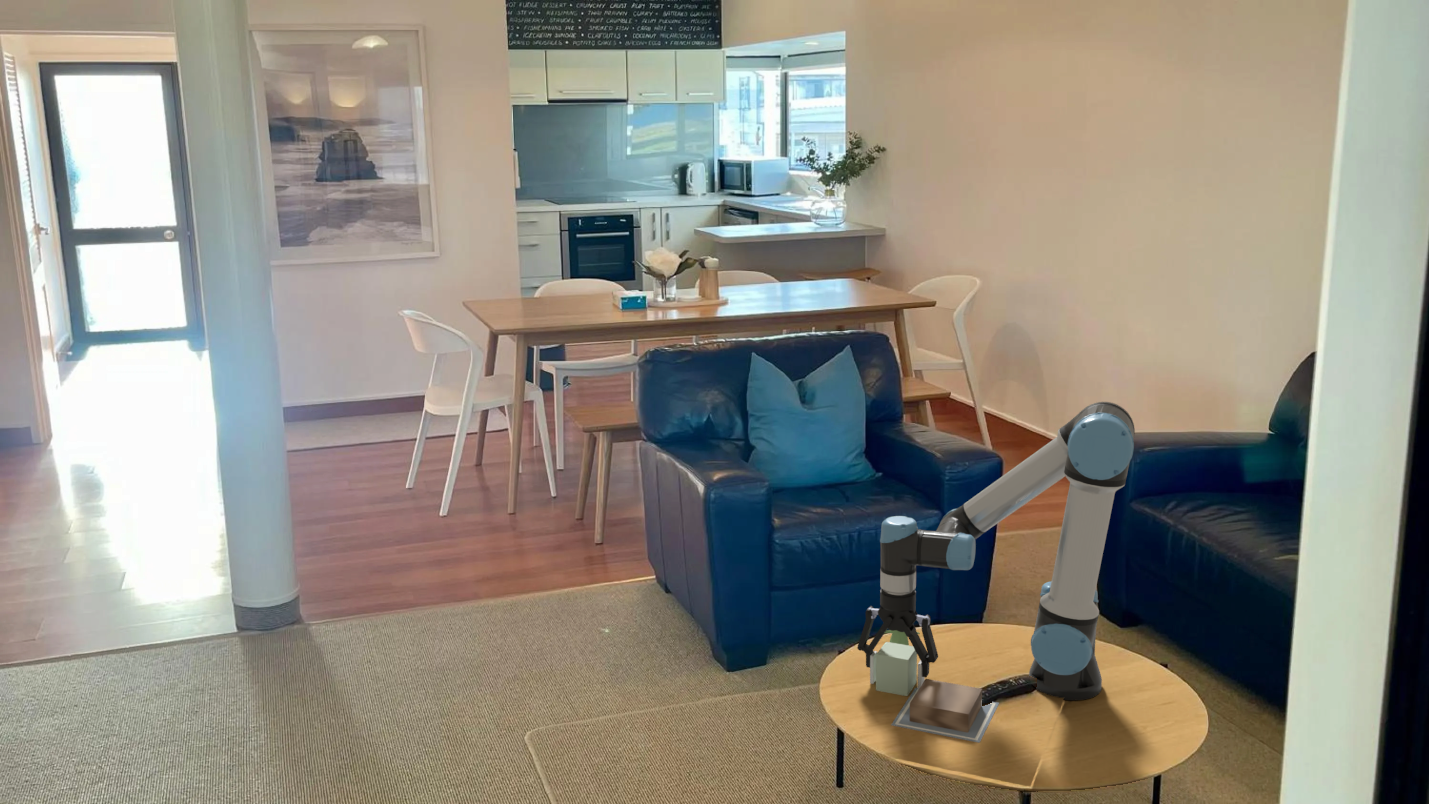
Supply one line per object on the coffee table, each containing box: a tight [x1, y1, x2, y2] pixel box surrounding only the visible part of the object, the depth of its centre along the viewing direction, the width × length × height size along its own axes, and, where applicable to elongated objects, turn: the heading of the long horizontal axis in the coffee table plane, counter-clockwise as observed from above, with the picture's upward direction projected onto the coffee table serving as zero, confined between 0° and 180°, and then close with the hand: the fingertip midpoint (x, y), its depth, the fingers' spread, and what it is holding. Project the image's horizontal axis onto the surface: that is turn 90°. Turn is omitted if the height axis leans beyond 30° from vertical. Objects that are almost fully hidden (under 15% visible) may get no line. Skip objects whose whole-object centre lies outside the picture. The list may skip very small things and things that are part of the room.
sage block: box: [875, 641, 918, 697], centre depth 254 cm, size 7×7×9 cm
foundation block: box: [910, 678, 983, 733], centre depth 242 cm, size 12×12×4 cm
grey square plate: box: [890, 687, 1000, 743], centre depth 243 cm, size 18×18×1 cm
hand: (897, 685), depth 255 cm, fingers open, 10 cm apart
